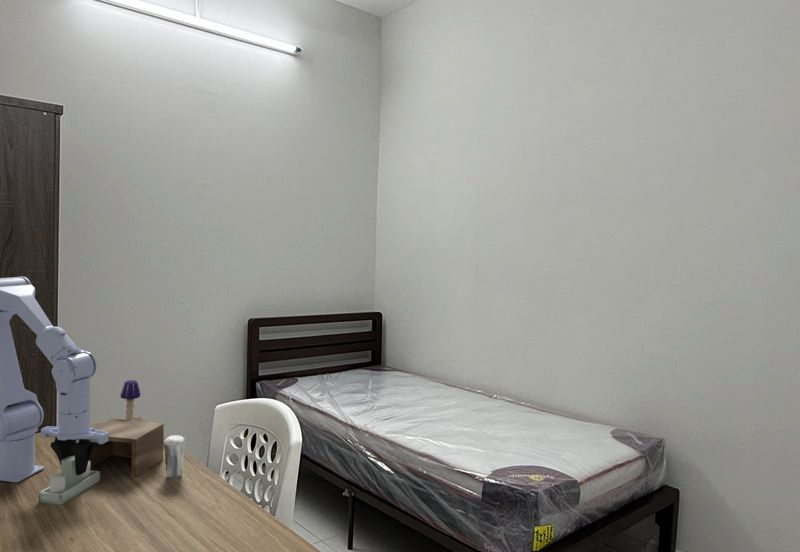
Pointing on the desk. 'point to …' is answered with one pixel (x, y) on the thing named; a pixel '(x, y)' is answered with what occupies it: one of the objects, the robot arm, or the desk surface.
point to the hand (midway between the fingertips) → (74, 472)
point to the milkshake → (174, 455)
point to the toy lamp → (130, 396)
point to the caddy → (68, 483)
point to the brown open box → (131, 443)
